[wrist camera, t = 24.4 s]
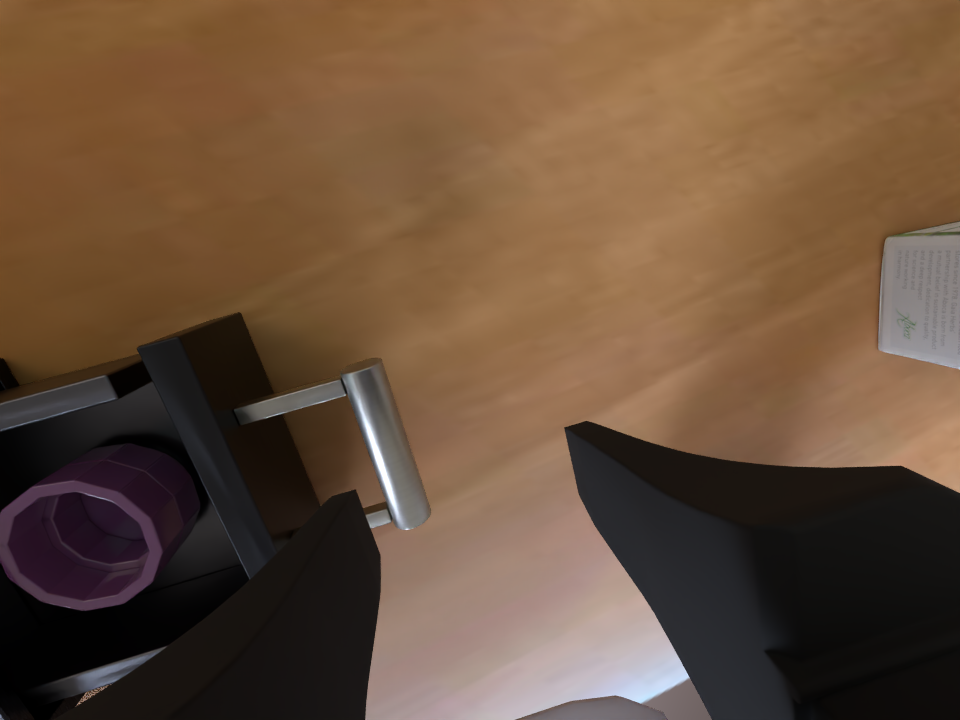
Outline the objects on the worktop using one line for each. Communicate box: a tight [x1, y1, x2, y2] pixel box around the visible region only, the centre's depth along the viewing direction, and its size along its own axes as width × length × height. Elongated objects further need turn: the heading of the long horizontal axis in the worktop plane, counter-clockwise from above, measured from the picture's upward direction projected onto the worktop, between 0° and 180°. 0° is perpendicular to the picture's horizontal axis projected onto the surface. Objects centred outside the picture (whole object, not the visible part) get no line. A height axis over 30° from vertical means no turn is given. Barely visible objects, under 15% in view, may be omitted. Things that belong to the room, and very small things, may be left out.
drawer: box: [0, 312, 431, 710], centre depth 16 cm, size 17×11×5 cm, turn 104°
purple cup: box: [0, 443, 200, 611], centre depth 16 cm, size 5×5×3 cm
